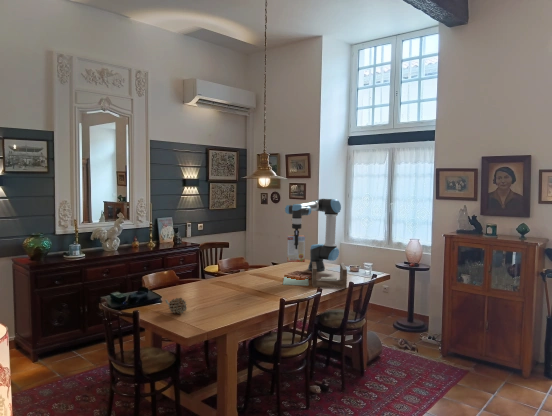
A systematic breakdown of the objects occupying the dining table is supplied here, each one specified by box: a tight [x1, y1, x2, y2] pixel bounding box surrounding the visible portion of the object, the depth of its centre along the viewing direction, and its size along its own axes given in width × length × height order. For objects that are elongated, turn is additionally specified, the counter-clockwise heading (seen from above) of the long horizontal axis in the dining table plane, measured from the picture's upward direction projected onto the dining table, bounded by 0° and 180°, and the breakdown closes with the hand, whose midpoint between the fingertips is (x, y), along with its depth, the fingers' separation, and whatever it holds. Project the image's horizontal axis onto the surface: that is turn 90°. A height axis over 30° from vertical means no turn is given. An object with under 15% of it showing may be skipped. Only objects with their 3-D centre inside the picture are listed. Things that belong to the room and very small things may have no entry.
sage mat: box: [282, 276, 310, 287], centre depth 347 cm, size 24×20×1 cm
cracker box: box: [286, 234, 306, 263], centre depth 345 cm, size 14×6×21 cm, turn 84°
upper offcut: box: [320, 276, 338, 280], centre depth 340 cm, size 6×12×2 cm, turn 78°
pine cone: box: [165, 297, 188, 314], centre depth 266 cm, size 22×10×10 cm, turn 49°
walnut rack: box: [311, 262, 348, 289], centre depth 343 cm, size 26×26×14 cm
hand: (296, 252), depth 345 cm, fingers closed on cracker box, 6 cm apart
